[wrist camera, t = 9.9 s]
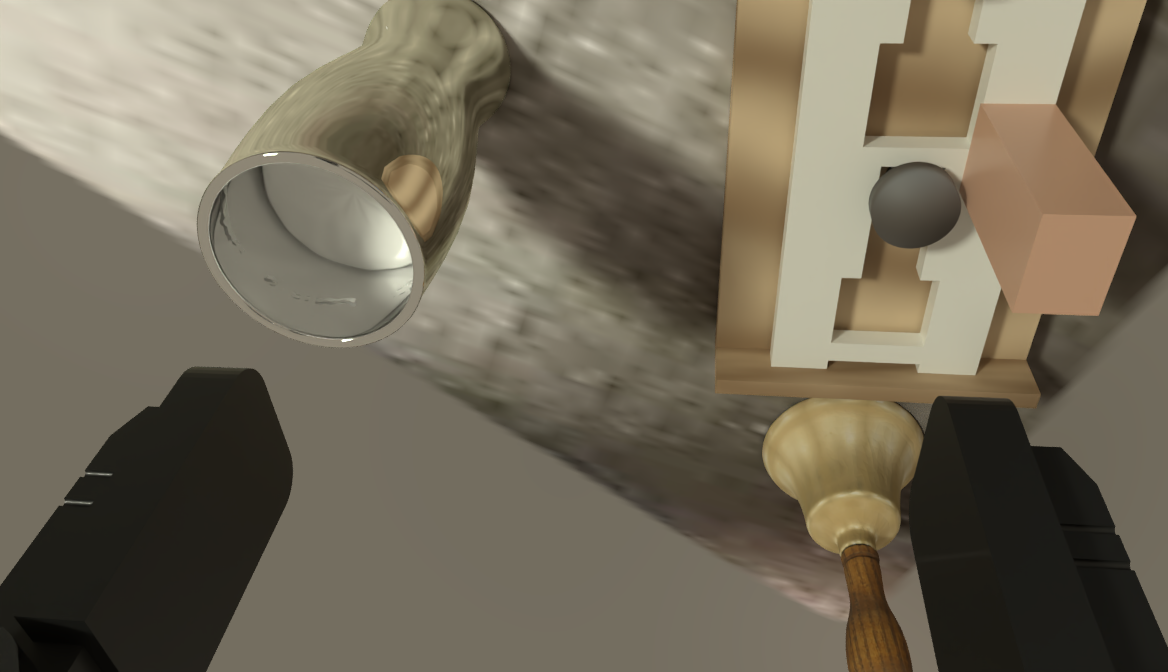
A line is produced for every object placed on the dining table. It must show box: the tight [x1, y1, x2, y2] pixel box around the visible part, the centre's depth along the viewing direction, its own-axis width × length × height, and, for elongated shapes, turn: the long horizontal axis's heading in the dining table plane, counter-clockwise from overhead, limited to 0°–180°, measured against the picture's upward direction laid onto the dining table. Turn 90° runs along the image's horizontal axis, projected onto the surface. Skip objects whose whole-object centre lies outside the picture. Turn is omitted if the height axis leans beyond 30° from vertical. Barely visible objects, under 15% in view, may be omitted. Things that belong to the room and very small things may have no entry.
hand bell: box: [762, 398, 924, 672], centre depth 42 cm, size 8×8×16 cm
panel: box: [770, 0, 1137, 375], centre depth 32 cm, size 21×9×9 cm, turn 2°
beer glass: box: [197, 0, 511, 348], centre depth 31 cm, size 7×7×15 cm
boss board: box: [715, 0, 1147, 408], centre depth 33 cm, size 28×14×4 cm, turn 2°
